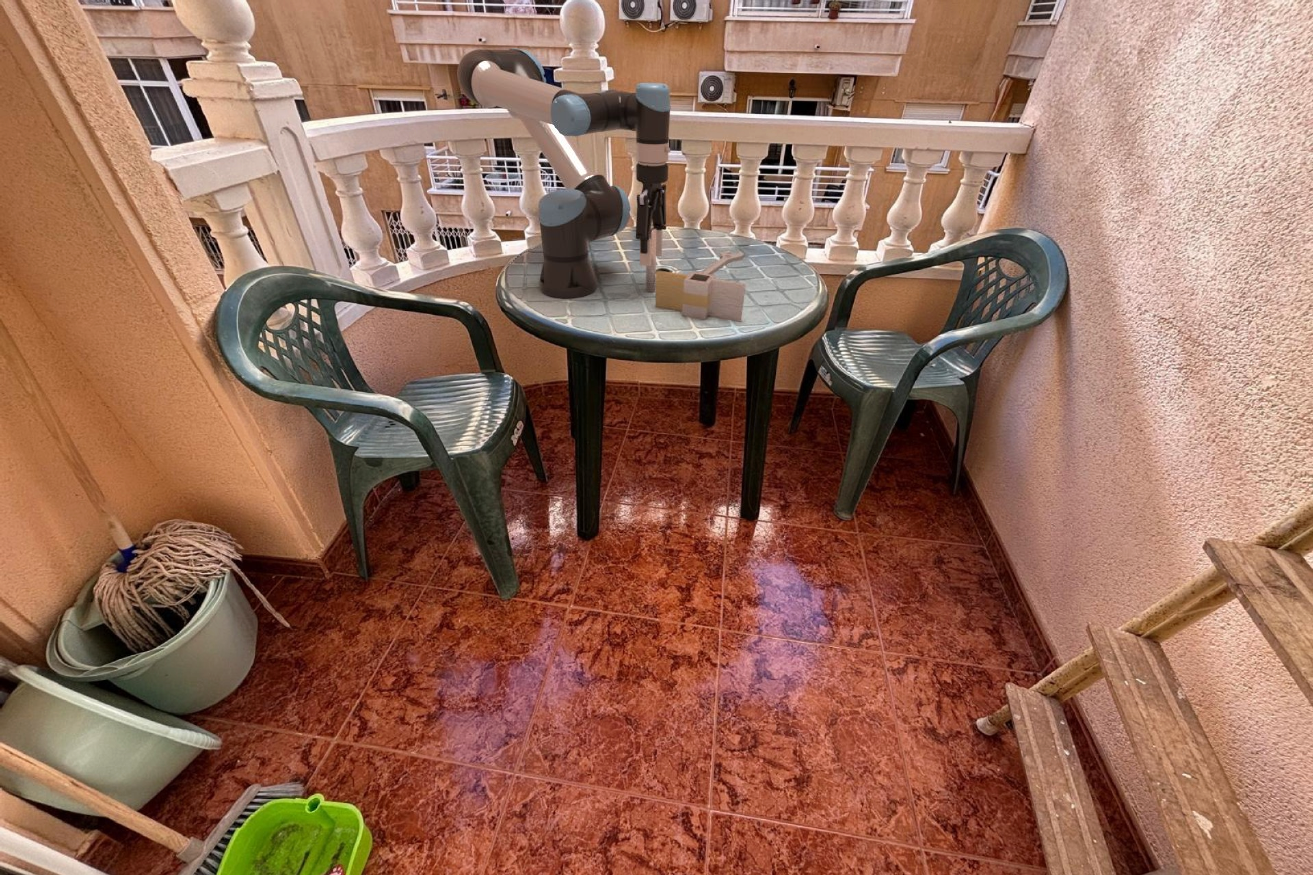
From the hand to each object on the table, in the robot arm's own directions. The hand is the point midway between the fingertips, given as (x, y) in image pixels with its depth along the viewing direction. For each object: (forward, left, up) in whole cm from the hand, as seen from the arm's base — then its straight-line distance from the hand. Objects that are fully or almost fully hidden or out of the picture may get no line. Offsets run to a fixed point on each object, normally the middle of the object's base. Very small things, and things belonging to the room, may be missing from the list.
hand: (651, 260), depth 138 cm
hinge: (+16, -9, -8) cm, 20 cm away
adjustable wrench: (+11, +26, -9) cm, 30 cm away
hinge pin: (0, 0, -8) cm, 8 cm away
